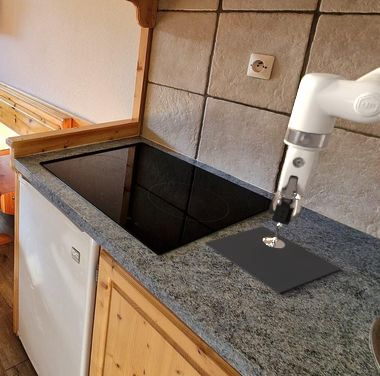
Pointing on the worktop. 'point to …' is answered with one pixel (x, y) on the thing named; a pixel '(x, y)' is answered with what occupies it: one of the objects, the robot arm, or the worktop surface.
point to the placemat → (272, 259)
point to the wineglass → (274, 241)
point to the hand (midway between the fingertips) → (282, 215)
